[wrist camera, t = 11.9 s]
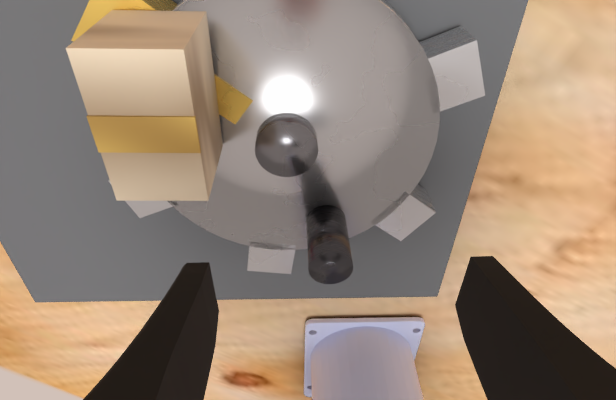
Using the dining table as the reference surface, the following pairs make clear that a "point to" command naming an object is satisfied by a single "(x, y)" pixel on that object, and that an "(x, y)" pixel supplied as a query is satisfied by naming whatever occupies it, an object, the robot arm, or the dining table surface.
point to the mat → (171, 223)
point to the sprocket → (318, 123)
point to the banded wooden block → (151, 102)
